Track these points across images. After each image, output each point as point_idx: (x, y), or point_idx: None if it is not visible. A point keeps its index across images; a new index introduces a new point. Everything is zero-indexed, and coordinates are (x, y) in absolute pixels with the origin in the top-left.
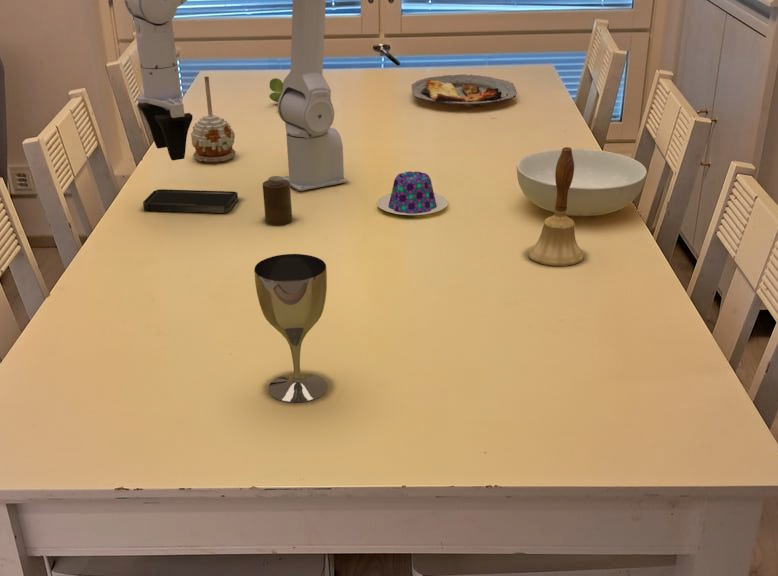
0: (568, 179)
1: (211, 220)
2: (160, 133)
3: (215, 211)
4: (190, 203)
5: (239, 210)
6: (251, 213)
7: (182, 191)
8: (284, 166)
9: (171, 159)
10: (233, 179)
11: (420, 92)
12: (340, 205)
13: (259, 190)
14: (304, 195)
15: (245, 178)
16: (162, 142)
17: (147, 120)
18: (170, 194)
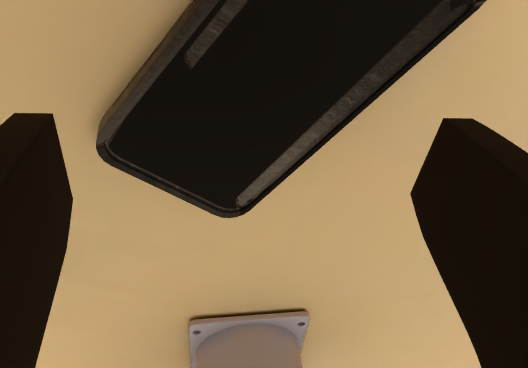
0: None
1: (37, 58)
2: (487, 238)
3: (113, 105)
4: (217, 48)
5: (116, 174)
6: None
7: (389, 74)
8: (394, 331)
9: (33, 115)
10: (411, 236)
11: None
12: (41, 352)
13: (270, 260)
14: (160, 319)
15: (391, 258)
16: (445, 184)
17: None
18: (395, 16)
